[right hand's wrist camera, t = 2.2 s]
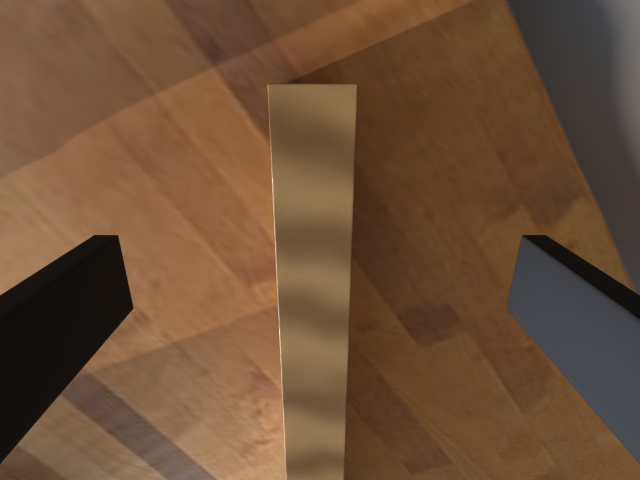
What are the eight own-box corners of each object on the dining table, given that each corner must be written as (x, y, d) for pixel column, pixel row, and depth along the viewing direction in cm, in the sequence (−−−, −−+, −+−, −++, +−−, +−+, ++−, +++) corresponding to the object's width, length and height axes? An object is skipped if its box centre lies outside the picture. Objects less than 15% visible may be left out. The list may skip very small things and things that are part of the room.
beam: (280, 85, 29) (267, 83, 22) (346, 85, 30) (357, 83, 22) (299, 609, 56) (296, 692, 48) (333, 608, 56) (336, 692, 49)
